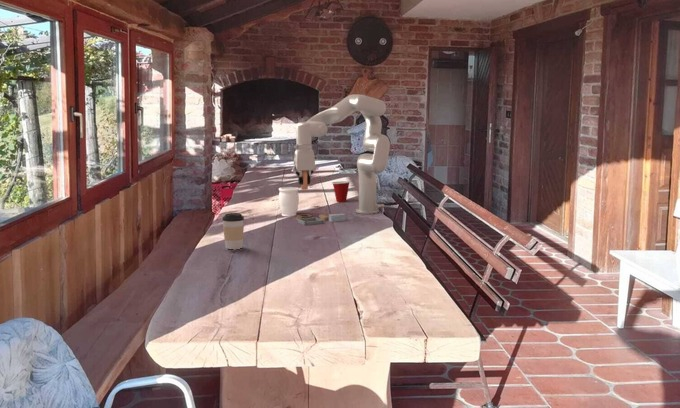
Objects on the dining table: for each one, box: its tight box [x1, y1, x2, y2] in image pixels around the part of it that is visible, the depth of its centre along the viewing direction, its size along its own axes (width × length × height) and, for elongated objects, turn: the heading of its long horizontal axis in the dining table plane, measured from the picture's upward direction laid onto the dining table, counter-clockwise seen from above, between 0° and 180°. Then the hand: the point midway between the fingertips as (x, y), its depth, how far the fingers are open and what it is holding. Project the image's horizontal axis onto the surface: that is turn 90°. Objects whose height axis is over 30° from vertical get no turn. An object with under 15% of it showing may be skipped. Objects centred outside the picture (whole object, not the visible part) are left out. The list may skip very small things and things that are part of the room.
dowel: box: [300, 170, 309, 191], centre depth 338 cm, size 3×3×10 cm
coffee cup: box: [222, 212, 245, 250], centre depth 284 cm, size 9×9×15 cm
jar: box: [278, 186, 300, 217], centre depth 353 cm, size 11×10×15 cm
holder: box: [295, 213, 313, 221], centre depth 342 cm, size 8×8×3 cm
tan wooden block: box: [318, 213, 333, 222], centre depth 343 cm, size 8×8×3 cm
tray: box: [296, 216, 325, 226], centre depth 333 cm, size 10×9×2 cm
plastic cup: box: [331, 180, 351, 203], centre depth 398 cm, size 11×11×12 cm
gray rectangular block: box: [328, 213, 347, 223], centre depth 338 cm, size 8×3×4 cm, turn 117°
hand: (304, 183), depth 339 cm, fingers closed on dowel, 3 cm apart
